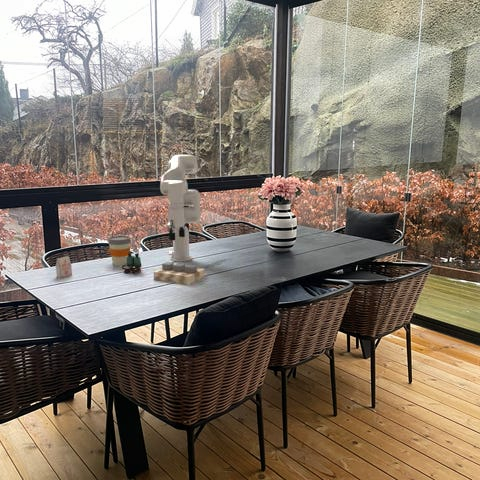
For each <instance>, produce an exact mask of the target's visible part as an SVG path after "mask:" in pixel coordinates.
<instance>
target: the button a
mask: <svg viewBox="0 0 480 480" xmlns="http://www.w3.org/2000/svg"><path fill="white" fill-rule="evenodd" d="M173 265H175V263H174V262H169V261H165V262H164V263H162V264H161V269H162V270H169V271H170V270H172V269H174V267H173Z"/></svg>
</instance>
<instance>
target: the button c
mask: <svg viewBox="0 0 480 480" xmlns="http://www.w3.org/2000/svg"><path fill="white" fill-rule="evenodd" d="M197 268H198V265H193V264H188V265H185V273H192V274H193V273H195V272H197Z"/></svg>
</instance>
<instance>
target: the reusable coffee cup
mask: <svg viewBox="0 0 480 480" xmlns="http://www.w3.org/2000/svg"><path fill="white" fill-rule="evenodd" d="M107 244H108V245H109V247H108V250H109V254H110V256H111V261H112V265H115V266H123V265H125V264H126V263H127V257H128V252H130V253H131V237H130V236H127V235H115V236H111V237H108V243H107Z"/></svg>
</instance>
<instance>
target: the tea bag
mask: <svg viewBox="0 0 480 480" xmlns="http://www.w3.org/2000/svg"><path fill="white" fill-rule="evenodd" d="M55 270H56V273H55V274H56V277H57V278H59V279H61V278H65V277H66V278H67V277H69V276H73V270H72V262H71V259H70V256H64V257H60V258H59V257H58V258H56V263H55Z"/></svg>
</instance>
